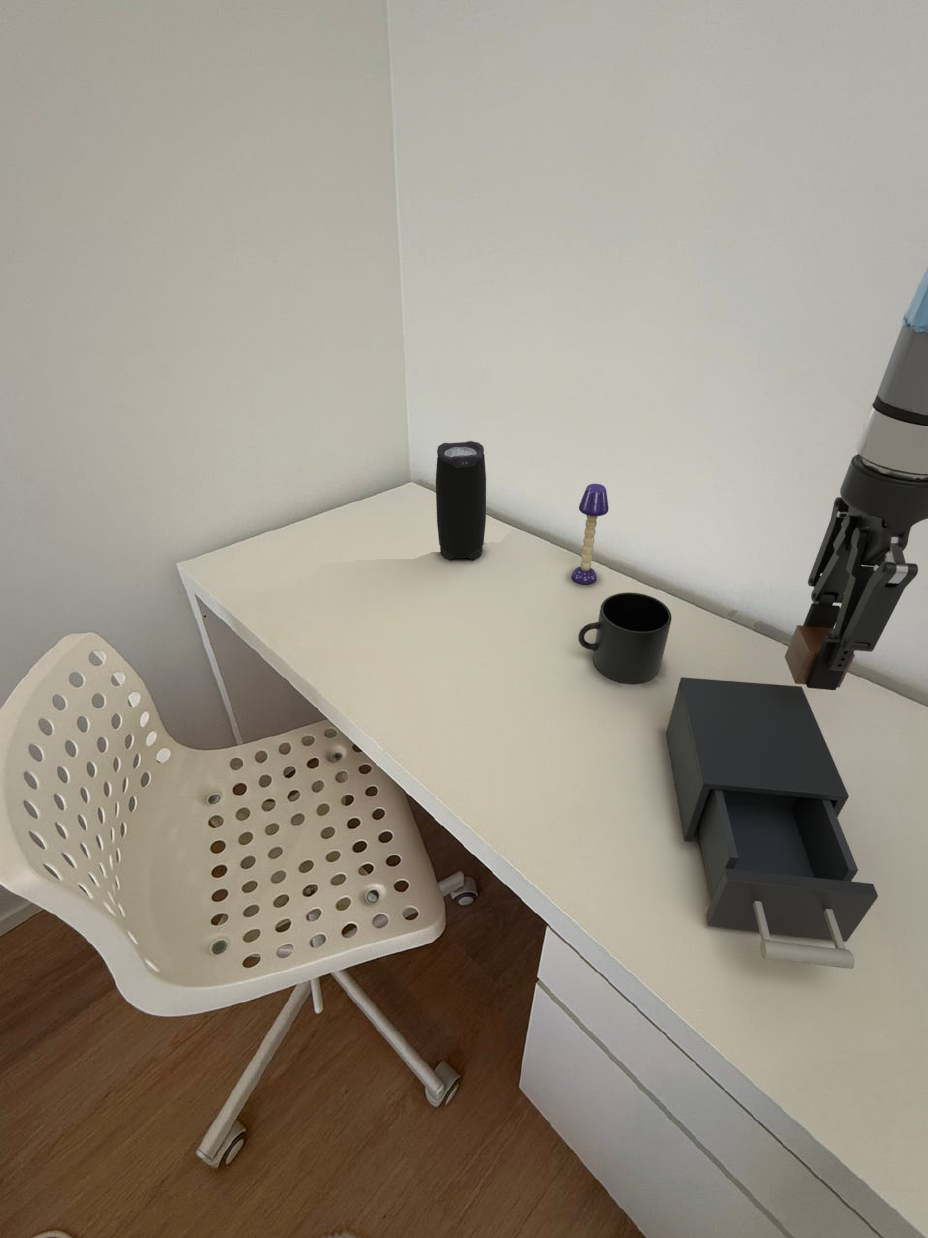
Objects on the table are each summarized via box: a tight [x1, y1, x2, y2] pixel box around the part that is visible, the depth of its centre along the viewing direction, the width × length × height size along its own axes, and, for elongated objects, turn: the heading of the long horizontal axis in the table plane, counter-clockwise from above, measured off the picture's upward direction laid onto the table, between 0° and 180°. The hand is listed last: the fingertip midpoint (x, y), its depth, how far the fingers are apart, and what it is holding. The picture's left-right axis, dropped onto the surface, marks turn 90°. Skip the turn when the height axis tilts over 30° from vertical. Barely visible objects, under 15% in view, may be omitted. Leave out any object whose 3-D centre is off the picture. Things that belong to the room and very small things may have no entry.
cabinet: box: [665, 676, 850, 843], centre depth 72 cm, size 16×14×10 cm
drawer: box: [697, 789, 879, 970], centre depth 62 cm, size 19×12×8 cm, turn 173°
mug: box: [577, 591, 672, 685], centre depth 90 cm, size 9×12×9 cm
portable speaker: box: [435, 440, 487, 561], centre depth 112 cm, size 9×9×20 cm
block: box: [784, 624, 856, 689], centre depth 67 cm, size 4×4×4 cm
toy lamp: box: [571, 483, 609, 585], centre depth 105 cm, size 5×5×17 cm
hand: (813, 670), depth 69 cm, fingers closed on block, 4 cm apart
